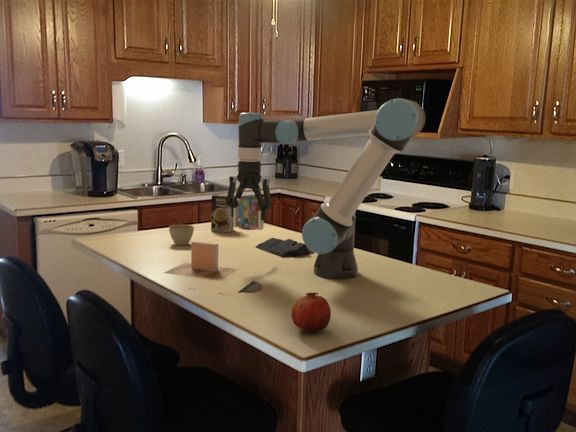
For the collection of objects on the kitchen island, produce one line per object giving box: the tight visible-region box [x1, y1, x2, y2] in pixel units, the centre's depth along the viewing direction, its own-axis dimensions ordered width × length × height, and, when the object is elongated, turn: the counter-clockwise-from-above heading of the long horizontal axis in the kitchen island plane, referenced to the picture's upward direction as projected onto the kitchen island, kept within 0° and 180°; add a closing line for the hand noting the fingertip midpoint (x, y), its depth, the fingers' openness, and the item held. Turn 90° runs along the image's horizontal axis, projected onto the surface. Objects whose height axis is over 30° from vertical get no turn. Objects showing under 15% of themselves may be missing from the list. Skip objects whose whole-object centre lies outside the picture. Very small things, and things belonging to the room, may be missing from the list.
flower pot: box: [168, 224, 195, 246], centre depth 238 cm, size 10×10×7 cm
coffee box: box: [210, 193, 234, 233], centre depth 266 cm, size 9×6×16 cm
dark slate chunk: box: [255, 237, 314, 259], centre depth 233 cm, size 15×22×5 cm
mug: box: [236, 195, 264, 231], centre depth 198 cm, size 12×9×11 cm
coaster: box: [237, 280, 263, 293], centre depth 184 cm, size 11×11×1 cm
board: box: [163, 262, 238, 281], centre depth 196 cm, size 20×14×2 cm
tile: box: [190, 240, 219, 271], centre depth 197 cm, size 9×2×9 cm, turn 71°
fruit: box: [290, 292, 332, 333], centre depth 149 cm, size 11×10×10 cm
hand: (248, 227), depth 199 cm, fingers closed on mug, 8 cm apart
